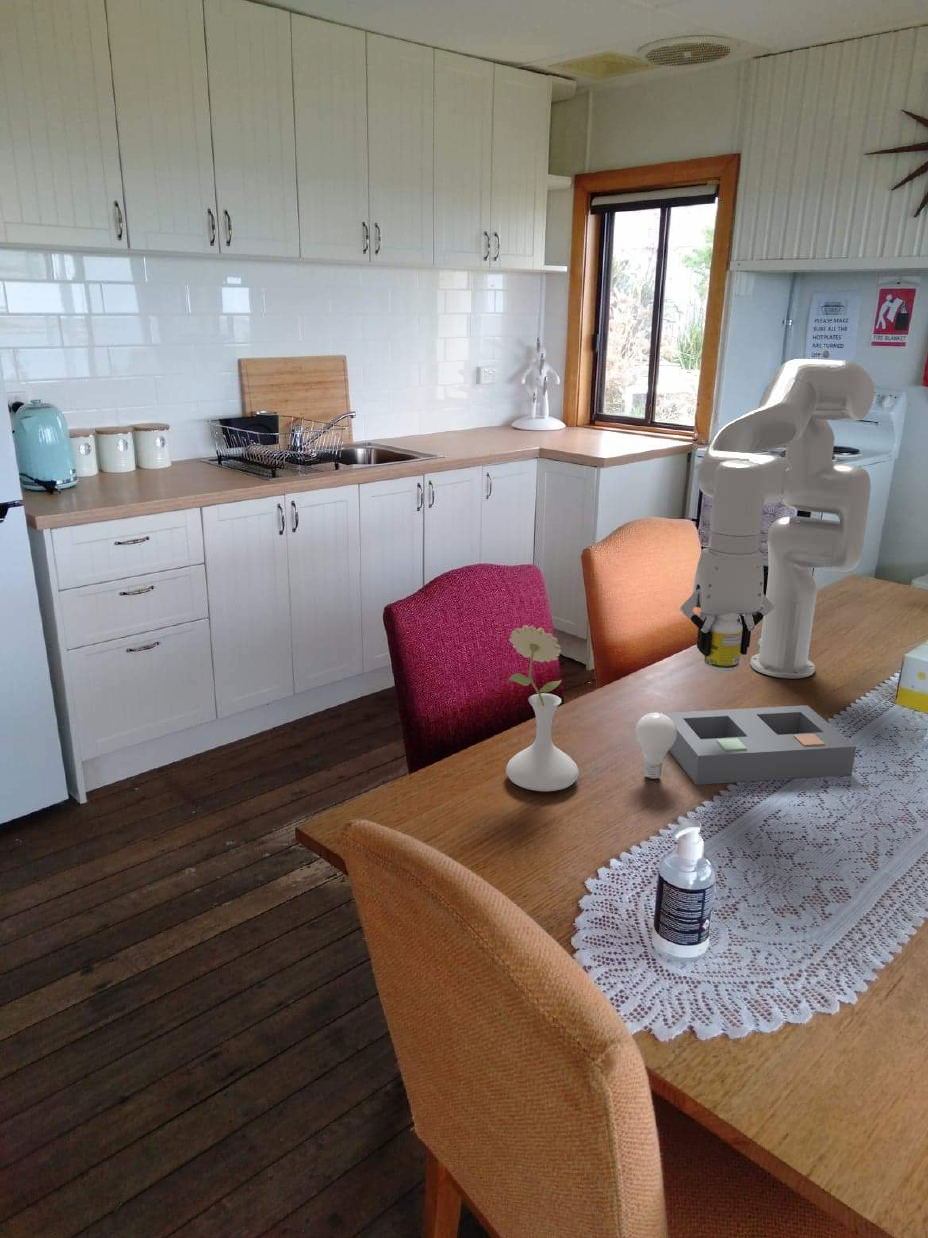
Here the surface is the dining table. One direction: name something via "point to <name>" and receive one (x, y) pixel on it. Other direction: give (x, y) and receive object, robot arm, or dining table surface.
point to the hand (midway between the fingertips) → (722, 651)
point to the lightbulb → (655, 741)
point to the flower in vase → (540, 721)
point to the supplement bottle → (725, 643)
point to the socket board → (759, 745)
